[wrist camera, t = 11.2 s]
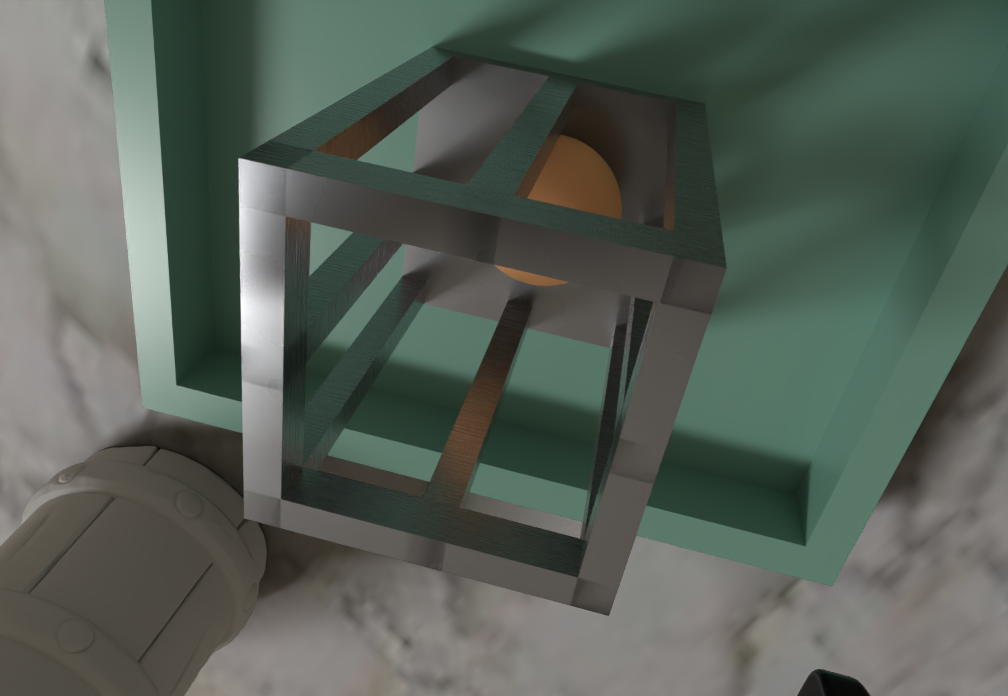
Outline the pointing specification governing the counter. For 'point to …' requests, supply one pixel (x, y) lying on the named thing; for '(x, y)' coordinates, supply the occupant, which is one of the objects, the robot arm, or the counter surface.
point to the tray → (582, 366)
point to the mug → (125, 577)
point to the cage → (475, 302)
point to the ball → (573, 190)
